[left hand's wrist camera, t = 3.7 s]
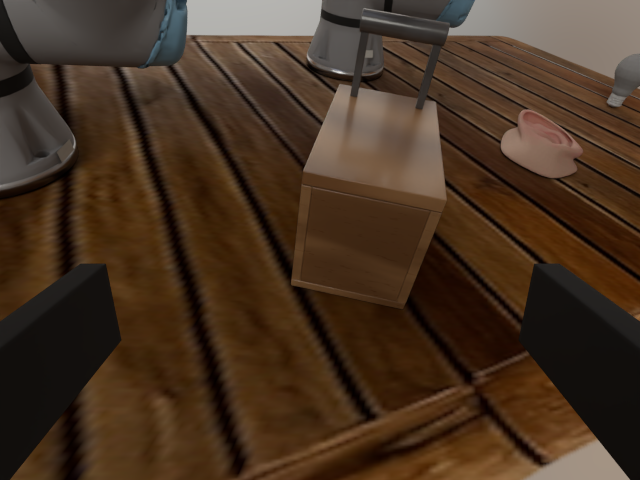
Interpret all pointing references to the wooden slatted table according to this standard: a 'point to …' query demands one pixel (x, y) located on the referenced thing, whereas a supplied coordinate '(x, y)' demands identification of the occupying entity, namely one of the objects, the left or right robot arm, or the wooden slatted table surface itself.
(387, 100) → the lid
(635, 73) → the light bulb
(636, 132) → the wooden slatted table surface
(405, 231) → the chest
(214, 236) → the wooden slatted table surface
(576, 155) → the anatomical model
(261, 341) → the wooden slatted table surface
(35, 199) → the wooden slatted table surface
